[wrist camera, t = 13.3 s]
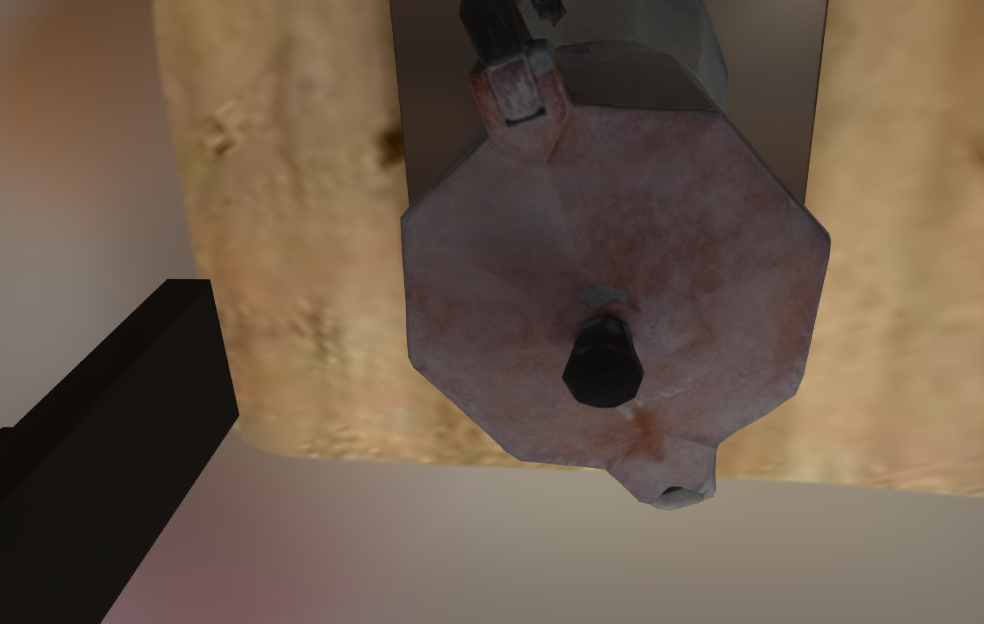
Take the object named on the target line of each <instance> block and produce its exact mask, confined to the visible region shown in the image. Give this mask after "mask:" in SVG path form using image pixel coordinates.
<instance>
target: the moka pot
mask: <svg viewBox="0 0 984 624" xmlns="http://www.w3.org/2000/svg"><path fill="white" fill-rule="evenodd" d="M459 16H460V18H461V21H462V23H463V25H464V27H465V29H466V32H467V34H468V36H469V38H470V41H471V43H472V45H473V47H474V50H475V52H476V54H477V56H478V61H477V62H476V64H475V65H474V67H473V69H472V70H471V72H470V73H469V75H468V78H469V87H470V89H471V92H472V94H473V97H474V99H475V102H476V104H477V107H478V109H479V112H480V114H481V117H482V120H483V121H482V122H481V123H479V124H478V125H477V126H476V128H475V129H474V130H473V131H472V132H471V134H470V135H469V136H468V137H467V138H466V140H465V141H464V142H463V143H462V144H461V145H460V147H459V148H458V149H457V150H456V151H455V152H454V154H453V155H452V156H451V158H450V159H449V160H448V161H447V162H446V163H445V164H444V165H443V167H442V168H441V169H440V170H439V171H438V172H437V173H436V174H435V176H434V177H433V178H432V179H431V180H430V182H429V183H428V184H427V185H426V186H425V187H424V189H423V190H422V191H421V192H420V193H419V194H418V196H417V197H416V198H415V199H414V200H413V202H412V203H411V204H410V206H409V207H408V208H407V210H406V211H405V212H404V214H403V215H402V216H401V240H402V257H403V271H404V286H405V300H406V327H407V346H408V357H409V360H410V362H411V364H412V366H413V368H415V369H416V370H417V371H418V372H419V373H420V374H421V375H423V376H424V377H425V378H426V379H427V380H428V381H429V382H430V383H432V384H433V385H434V386H435V387H436V388H437V389H438V390H440V391H441V392H442V393H443V394H444V395H445V396H446V397H447V398H449V399H450V400H451V401H452V402H453V403H454V404H455V405H456V406H458V407H459V408H460V409H461V410H462V411H463V412H464V413H465V414H466V415H467V416H469V417H470V418H471V419H472V420H473V421H474V422H475V423H476V424H477V425H478V426H479V427H481V428H482V429H483V430H484V431H485V432H486V433H487V434H488V435H489V436H490V437H491V438H493V439H494V440H495V441H496V442H497V443H498V444H499V445H500V446H501V447H502V448H503V449H504V450H505V451H506V452H507V453H509V454H510V455H512V456H513V457H515V458H517V459H518V460H520V461H527V462H537V463H548V464H557V465H566V466H581V467H590V468H597V469H605V470H606V471H607V472H609V473H610V474H611V475H612V476H613V477H614V478H615V479H616V480H617V481H619V482H620V483H621V484H622V485H623V486H624V487H625V488H626V489H627V490H628V491H629V492H630V493H631V494H632V495H633V496H634V497H635V498H637V500H638V501H639V502H643V503H647V504H651V505H652V506H654V507H656V508H657V509H663V510H674V509H677V508H680V507H684V506H688V505H693V504H697V503H700V502H702V501H704V500H707V499H709V498H711V497H713V495H714V493H715V490H716V477H715V466H716V450H717V448H718V446H719V444H720V443H721V442H722V441H724V440H725V439H726V438H728V437H729V436H731V435H732V434H733V433H735V432H736V431H738V430H740V429H742V428H744V427H745V426H747V425H749V424H751V423H752V422H754V421H756V420H758V419H759V418H761V417H763V416H765V415H766V414H768V413H769V412H771V411H772V410H774V409H775V408H777V407H778V406H780V405H781V404H783V403H784V402H785V401H787V400H788V399H790V398H791V397H793V396H794V395H796V392H797V390H798V388H799V385H800V383H801V380H802V378H803V375H804V371H805V366H806V362H807V357H808V353H809V348H810V344H811V339H812V334H813V329H814V324H815V319H816V315H817V310H818V306H819V301H820V297H821V292H822V288H823V283H824V279H825V274H826V270H827V265H828V261H829V255H830V245H831V239H830V235H829V233H828V232H827V230H826V229H825V228H824V227H823V226H822V225H821V224H820V223H819V222H818V221H817V219H816V218H815V217H814V216H813V215H812V214H811V213H810V212H809V210H808V209H807V208H806V207H805V206H804V205H803V204H802V202H801V201H800V200H799V199H798V198H797V196H796V195H795V194H794V193H793V192H792V191H791V189H790V188H789V187H788V186H787V185H786V184H785V183H784V181H783V180H782V179H781V178H780V177H779V176H778V175H777V174H776V172H775V171H774V170H773V169H772V168H771V167H770V166H769V164H768V163H767V162H766V161H765V160H764V159H763V157H762V156H761V155H760V154H759V153H758V152H757V150H756V149H755V148H754V147H753V146H752V145H751V143H750V142H749V141H748V140H747V139H746V138H745V136H744V135H743V134H742V133H741V132H740V131H739V130H738V128H737V127H736V126H735V125H734V124H733V123H732V122H731V120H730V119H729V118H728V117H727V116H726V115H725V107H726V97H727V86H728V70H727V67H726V63H725V60H724V56H723V54H722V51H721V48H720V45H719V42H718V39H717V36H716V34H715V30H714V27H713V24H712V21H711V18H710V16H709V13H708V11H707V8H706V6H705V4H704V3H703V2H702V1H701V0H522V1H521V2H520V3H519V4H518V5H516V3H515V0H461V6H460V13H459Z"/></svg>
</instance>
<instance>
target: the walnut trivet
mask: <svg viewBox="0 0 984 624" xmlns="http://www.w3.org/2000/svg"><path fill="white" fill-rule="evenodd" d="M521 1H522V0H515V3H516V5H518V4H519V3H520V2H521ZM701 1H702V2H703V3H704V4H705V6H706V8H707V11H708V13H709V16H710V18H711V21H712V24H713V27H714V30H715V34H716V36H717V39H718V42H719V45H720V48H721V51H722V54H723V56H724V60H725V63H726V67H727V70H728V86H727V97H726V107H725V115H726V116H727V117H728V118H729V119H730V120H731V122H732V123H733V124H734V125H735V126H736V127H737V128H738V130H739V131H740V132H741V133H742V134H743V135H744V136H745V138H746V139H747V140H748V141H749V142H750V143H751V145H752V146H753V147H754V148H755V149H756V150H757V152H758V153H759V154H760V155H761V156H762V157H763V159H764V160H765V161H766V162H767V163H768V164H769V166H770V167H771V168H772V169H773V170H774V171H775V172H776V174H777V175H778V176H779V177H780V178H781V179H782V180H783V181H784V183H785V184H786V185H787V186H788V187H789V188H790V189H791V191H792V192H793V193H794V194H795V195H796V196H797V198H798V199H799V200H800V201H801V202H802V204H803V205H805V196H806V188H807V179H808V171H809V162H810V154H811V145H812V137H813V128H814V120H815V111H816V103H817V94H818V86H819V77H820V69H821V60H822V52H823V43H824V35H825V26H826V18H827V9H828V1H829V0H701ZM460 6H461V0H390V10H391V21H392V31H393V41H394V52H395V62H396V73H397V83H398V94H399V104H400V114H401V125H402V135H403V146H404V156H405V166H406V177H407V187H408V198H409V206H410V204H411V203H412V202H413V200H414V199H415V198H416V197H417V196H418V194H419V193H420V192H421V191H422V190H423V189H424V187H425V186H426V185H427V184H428V183H429V182H430V180H431V179H432V178H433V177H434V176H435V174H436V173H437V172H438V171H439V170H440V169H441V168H442V167H443V165H444V164H445V163H446V162H447V161H448V160H449V159H450V158H451V156H452V155H453V154H454V152H455V151H456V150H457V149H458V148H459V147H460V145H461V144H462V143H463V142H464V141H465V140H466V138H467V137H468V136H469V135H470V134H471V132H472V131H473V130H474V129H475V128H476V126H477V125H478V124H479V123H481V122H482V121H483V120H482V117H481V114H480V112H479V109H478V107H477V104H476V102H475V99H474V97H473V94H472V92H471V89H470V87H469V78H468V75H469V73H470V72H471V70H472V69H473V67H474V65H475V64H476V62H477V61H478V56H477V54H476V52H475V50H474V47H473V45H472V43H471V41H470V38H469V36H468V34H467V32H466V29H465V27H464V25H463V23H462V21H461V18H460V16H459V13H460Z"/></svg>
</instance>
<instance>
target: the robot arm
mask: <svg viewBox="0 0 984 624" xmlns="http://www.w3.org/2000/svg"><path fill="white" fill-rule="evenodd" d="M238 417H239V411H238V407H237V402H236V397H235V393H234V388H233V383H232V379H231V374H230V370H229V365H228V360H227V356H226V351H225V346H224V342H223V337H222V333H221V328H220V323H219V319H218V314H217V309H216V305H215V300H214V296H213V291H212V286H211V282H210V279H167V280H166V281H165V282H164V283H163V284H162V285H161V286H159V288H158V289H156V290H155V291H154V292H153V293H152V294H151V295H150V296H149V297H148V298H147V299H146V300H145V301H144V302H143V303H142V304H141V305H140V306H139V307H138V308H137V309H136V310H135V311H133V312H132V313H131V314H130V315H129V316H128V317H127V318H126V319H125V320H124V321H123V322H122V323H121V324H120V325H119V326H118V327H117V328H116V329H115V330H114V331H113V332H112V333H111V334H109V335H108V336H107V338H105V339H104V340H103V341H102V342H101V343H100V344H99V345H98V346H97V347H96V348H95V349H94V350H93V351H92V352H91V353H90V354H89V355H88V356H87V357H86V358H85V359H84V360H82V361H81V362H80V363H79V364H78V365H77V366H76V367H75V368H74V369H73V370H72V371H71V372H70V373H69V374H68V375H67V376H66V377H65V378H64V379H63V380H62V381H60V383H58V384H57V385H56V386H55V387H54V388H53V389H52V390H51V391H50V392H49V393H48V394H47V395H46V396H45V397H44V398H43V399H42V400H41V401H40V402H39V403H38V404H37V405H35V407H33V408H32V409H31V410H30V411H29V412H28V413H27V414H26V415H25V416H24V417H23V418H22V419H21V420H20V421H19V422H18V423H17V424H16V425H15V426H14V427H3V428H1V429H0V624H100V623H101V622H102V620H103V619H104V617H105V616H106V614H107V613H108V611H109V610H110V608H111V607H112V605H113V604H114V602H115V601H116V599H117V598H118V596H119V595H120V593H121V592H122V590H123V589H124V587H125V586H126V584H127V583H128V581H129V580H130V578H131V577H132V575H133V574H134V572H135V571H136V569H137V568H138V566H139V565H140V563H141V562H142V560H143V559H144V557H145V556H146V554H147V553H148V551H149V550H150V548H151V547H152V545H153V544H154V542H155V541H156V539H157V538H158V536H159V535H160V534H161V532H162V531H163V529H164V528H165V526H166V525H167V523H168V522H169V520H170V518H171V517H172V516H173V514H174V512H175V511H176V510H177V508H178V507H179V505H180V504H181V502H182V501H183V499H184V498H185V496H186V495H187V493H188V492H189V490H190V489H191V487H192V486H193V484H194V483H195V481H196V479H197V478H198V476H199V475H200V474H201V472H202V470H203V469H204V468H205V466H206V465H207V463H208V462H209V460H210V459H211V457H212V456H213V454H214V453H215V451H216V449H217V448H218V447H219V445H220V444H221V442H222V440H223V439H224V437H225V436H226V435H227V433H228V432H229V430H230V429H231V427H232V426H233V424H234V423H235V421H236V420H237V418H238Z"/></svg>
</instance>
